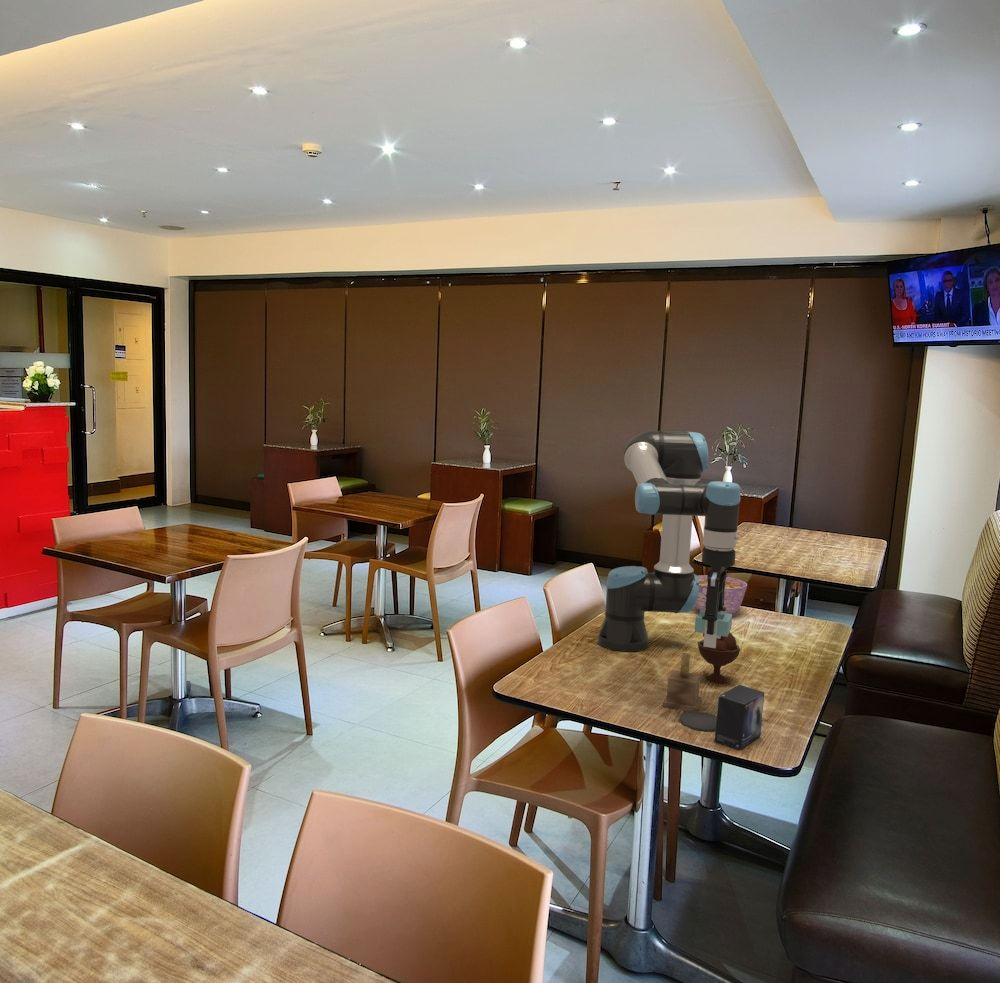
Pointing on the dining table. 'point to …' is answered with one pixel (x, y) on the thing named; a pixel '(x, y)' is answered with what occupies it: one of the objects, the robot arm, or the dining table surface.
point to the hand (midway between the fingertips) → (712, 642)
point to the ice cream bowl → (719, 656)
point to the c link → (722, 625)
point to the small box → (739, 716)
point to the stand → (683, 688)
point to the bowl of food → (731, 596)
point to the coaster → (699, 720)
